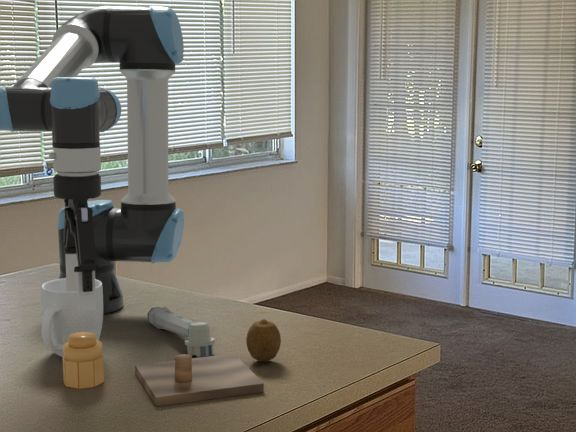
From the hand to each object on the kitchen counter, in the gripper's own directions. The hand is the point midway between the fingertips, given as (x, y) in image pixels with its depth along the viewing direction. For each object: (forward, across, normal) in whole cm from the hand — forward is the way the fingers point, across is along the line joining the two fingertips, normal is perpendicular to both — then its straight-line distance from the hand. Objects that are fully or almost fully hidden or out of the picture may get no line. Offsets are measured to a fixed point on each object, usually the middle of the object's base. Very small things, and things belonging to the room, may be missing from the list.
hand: (80, 300), depth 148 cm
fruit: (+14, +1, +32) cm, 35 cm away
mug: (+14, -15, 0) cm, 21 cm away
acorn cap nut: (+14, 0, 0) cm, 14 cm away
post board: (+14, +7, +18) cm, 24 cm away
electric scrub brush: (+14, -17, +21) cm, 31 cm away
